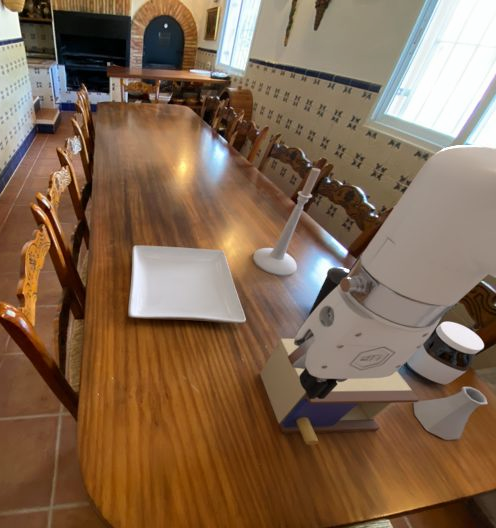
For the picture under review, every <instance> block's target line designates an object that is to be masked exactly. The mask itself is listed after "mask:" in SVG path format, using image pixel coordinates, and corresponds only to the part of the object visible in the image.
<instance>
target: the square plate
mask: <svg viewBox="0 0 496 528" xmlns="http://www.w3.org/2000/svg"><path fill="white" fill-rule="evenodd" d="M131 255H132V256H131V257H132V258H131V276H130V277H131V280H130V290H129V297H128V298H129V300H128V309H127V310H128V311H127V312H128V317H129V318H133V319H143V320H145V319H146V320H183V321H201V322H212V323H224V324H243V323H246V321H247V318H246V316H245V312H244V309H243V306H242V303H241V301H240V297H239V294H238V292H237V288H236V286H235V281H234V279H233V276H232V272H231V269H230V266H229V263H228V259H227V256H226V254H225V252H224V251H223V250H219V249H208V248H207V249H206V248H194V247H193V248H192V247H178V246H177V247H176V246H163V245H162V246H161V245H134V246H132V253H131Z"/></svg>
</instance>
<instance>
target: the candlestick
mask: <svg viewBox="0 0 496 528" xmlns="http://www.w3.org/2000/svg"><path fill="white" fill-rule="evenodd" d="M320 173H321V169H320V168H318V167H312V168H311V170H310V172H309V174H308V177H307V179H306V181H305V184H304V186H303V188H302V190H300V191H298V192H297V194H298V197H297V204H296V205H294V208H293V210H292V212H291V214H290V216H289V218H288V220H287V222H286V223H285V225H284V228H283V230H282V232H281V233H280V235H279V237H278V239H277V241H276V243H275V245H274V247H263V248H259V249H257V250H255V252H254V253H253V256H252V260H253V262H254V264H255V265H256V266H257V267H258V268H259V269H260V270H262V271H263V272H266V273H268V274H270V275H273V276H276V277H277V276H278V277H289V276H292V275H294V274H295V273H296V271H297V268H298V265H297V262H296V260H295V259H294V258H293V257H292V256H291V255H290V254H288V253H287V250H288V248H289V245H290V242H291V241H292V240H291V239H292V238H293V234H294V232H295V229H296V227H297V224H298V222H299V219H300V217H301V216H302V215H301V214H302V212H303V210H304V205H305V204H307V203H308V202H309V199H311V198H313V194H311V192H312V190H313V188H314V187H315V183H316V182H317V179H318V177H319V175H320Z"/></svg>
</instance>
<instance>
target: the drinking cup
mask: <svg viewBox="0 0 496 528" xmlns="http://www.w3.org/2000/svg"><path fill="white" fill-rule="evenodd" d="M361 255H362V254H359V255H358V257H357V259H356V260H355V262H354V263H353V264H352V266H351V267H350V269H348V268H344V267H340V266H334V267H330V268H329V269H328V270H327V272H326V277H325V279H324V281H323V283H322V285H321V288H320V290H319V291H318V293H317V296H316V298H315V300H314V302H313V303H312V306H311V308H310V311H309V312H308V317H309V316H310V315H311V313H312V312H313V311H314V310H315V309H316V307H317V306H318V305H319V304H320V303H321V302H322V301H323V300H324V299H325V298H326V297H327V296H328V295H329V294H330V293H331V292H332V291H333V290H334V289H335V288H336V287H337V286H338V285H340V281H341V279H342V278H344V277H347V276H348V274H349V273H350V271H351V270H352V268H353V267H354V265H355V264H356V262H357V261H358V259H359V258H360V257H361Z"/></svg>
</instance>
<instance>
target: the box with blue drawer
mask: <svg viewBox="0 0 496 528" xmlns="http://www.w3.org/2000/svg"><path fill="white" fill-rule="evenodd" d="M294 340H295V338H280V339H279V341H278V342H277V343H276V346H275V348H273V351H272V352H271V354H270V356H269V357H268V359H267V361H266V362H265V364H264V366H263V367H262V369H261V370H260V373H259V375H260V378H261V381H262V383H263V386H264V389H265V392H266V394H267V397H268V399H269V402H270V405H271V407H272V410H273V412H274V415H275V418H276V420H277V423H278V426H279V429H280V431H281V433H282V434H301V432H300V429H299V427H284V426H283V422H284V421H285V420H286V419H287V418H288V417H289V416H290V414H291V413H292V412H293V411H294V410H295V409H296V407H297V406H298V405H299V404H300V403H301V402H302V401H303V399H304V398H306V399H307V401H308V403H309V404H351V403H358V404H357V405H356V406H355V407H354V408H353V409H351V410H350V411H349V412H348V413H347V414H346V415H345V416H343V417H342V418H341V419H340V420H339V421H338V422H337V423H336V424H334V425H333V426H312V428H313V430H314V432H315V434H316V433H346V432H347V433H349V432H350V433H353V432H355V433H356V432H377V431H379V430H380V426H379V425H378V423H377V421H376V419H377V418H378V417H379V416H380V415H382V414H383V413H384V412H386V411H387V410H389V409H390V408H392V406H394V405H395V404H400V403H401V404H402V403H403V404H405V403H413V402H418V401H420V399H419V397H418V396H417V395H416V393H415V392H414V391H413V390H412V389H411V387H410V386H409V384H408V383H407V382H406V380H405V379H404V378H403V376H402V374H400V373H399V371H398V370H397V371H396V372H395V373H394V374H392V375H391V376H388V377H383V378H361V379H347V380H346V381H344V382H337V381H336V382H337V386H336V387H335V388H334V389H333V390H332V391H331V392H330V393H329V394H328V395H327V396H326V397H325V398H324V399H319V398H317V397H316V398H315V399H309V397H308V395H307V393H306V391H305V389H304V388H303V387H302V385H301V383H300V378H299V377H300V375H301V373H302V372H303V371H304V369H300V368H294V367H292V365H291V363H290V361H289V359H288V356H289V355H290V354H291V353H292V352H293V351H294V350H295V349H297V348H298V347H299V346H296V345H295V344H294Z"/></svg>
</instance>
